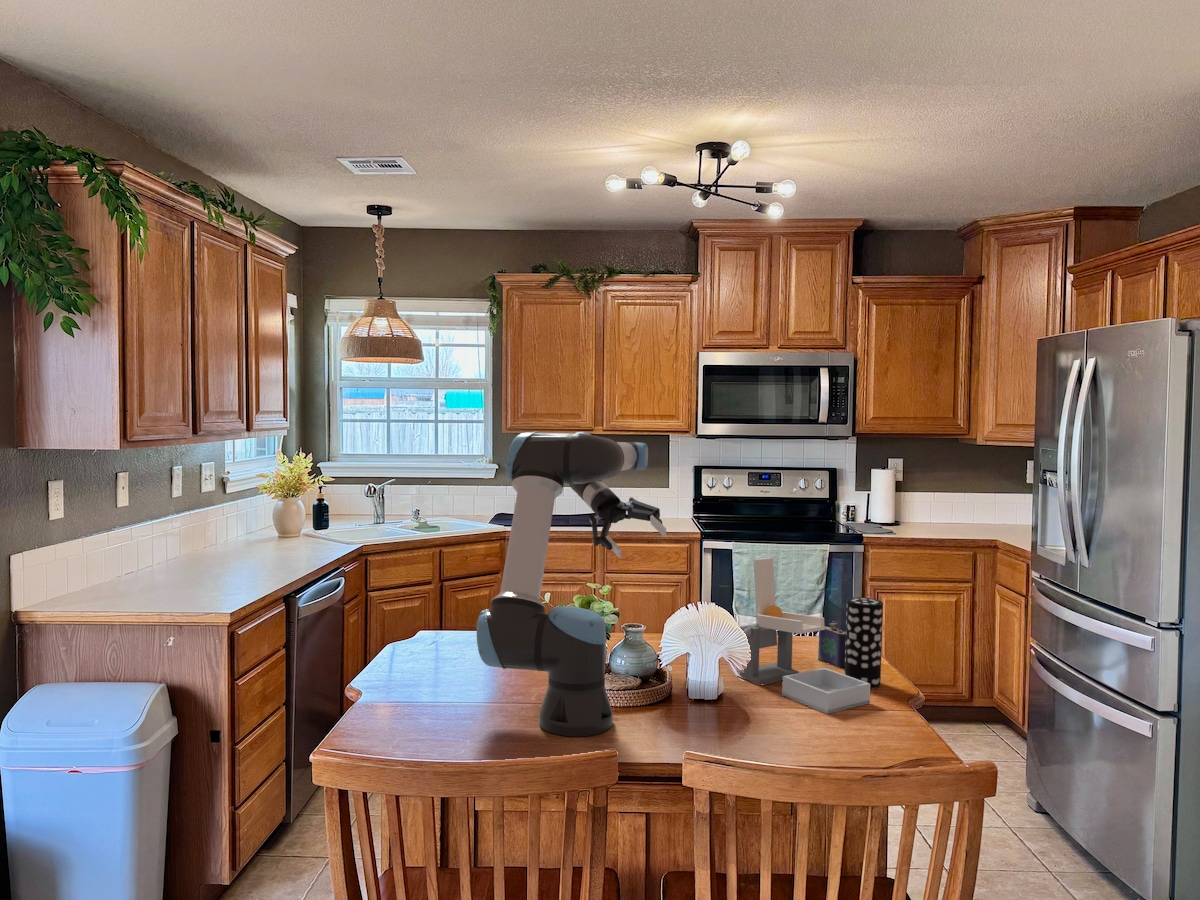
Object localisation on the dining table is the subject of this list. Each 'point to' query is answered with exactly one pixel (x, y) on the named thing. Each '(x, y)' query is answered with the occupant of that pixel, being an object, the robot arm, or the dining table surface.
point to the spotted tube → (864, 640)
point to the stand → (771, 670)
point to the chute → (767, 599)
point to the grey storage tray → (826, 690)
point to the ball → (774, 611)
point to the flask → (832, 646)
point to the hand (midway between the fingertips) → (642, 543)
